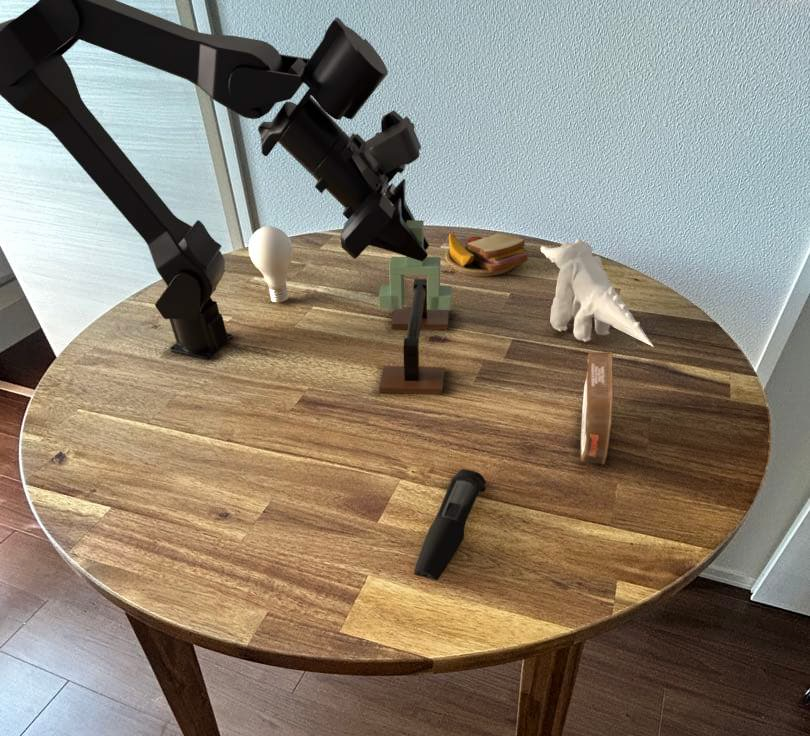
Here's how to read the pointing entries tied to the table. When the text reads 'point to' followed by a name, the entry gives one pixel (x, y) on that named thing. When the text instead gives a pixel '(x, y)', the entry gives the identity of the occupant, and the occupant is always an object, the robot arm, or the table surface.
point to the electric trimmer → (449, 524)
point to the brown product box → (597, 408)
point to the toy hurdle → (415, 347)
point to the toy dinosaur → (587, 295)
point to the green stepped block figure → (402, 266)
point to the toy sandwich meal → (485, 254)
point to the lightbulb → (272, 259)
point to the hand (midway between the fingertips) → (425, 253)
